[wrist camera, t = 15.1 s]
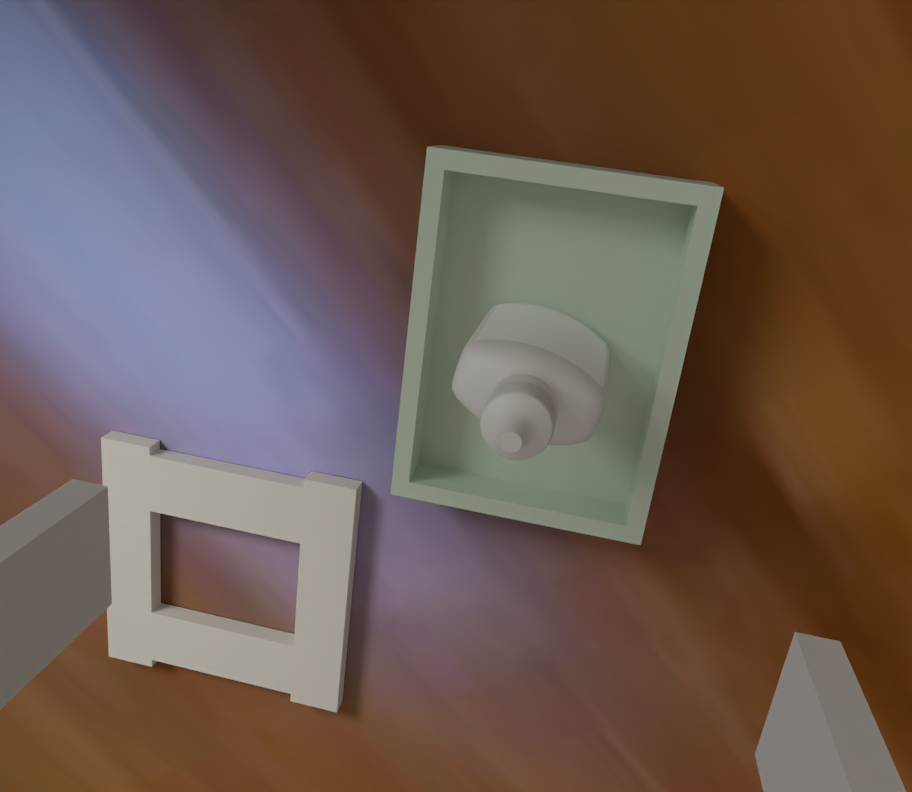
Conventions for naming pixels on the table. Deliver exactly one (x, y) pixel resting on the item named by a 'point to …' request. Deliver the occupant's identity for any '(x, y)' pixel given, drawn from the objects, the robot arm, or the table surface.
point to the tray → (563, 288)
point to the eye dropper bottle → (533, 379)
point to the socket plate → (246, 509)
